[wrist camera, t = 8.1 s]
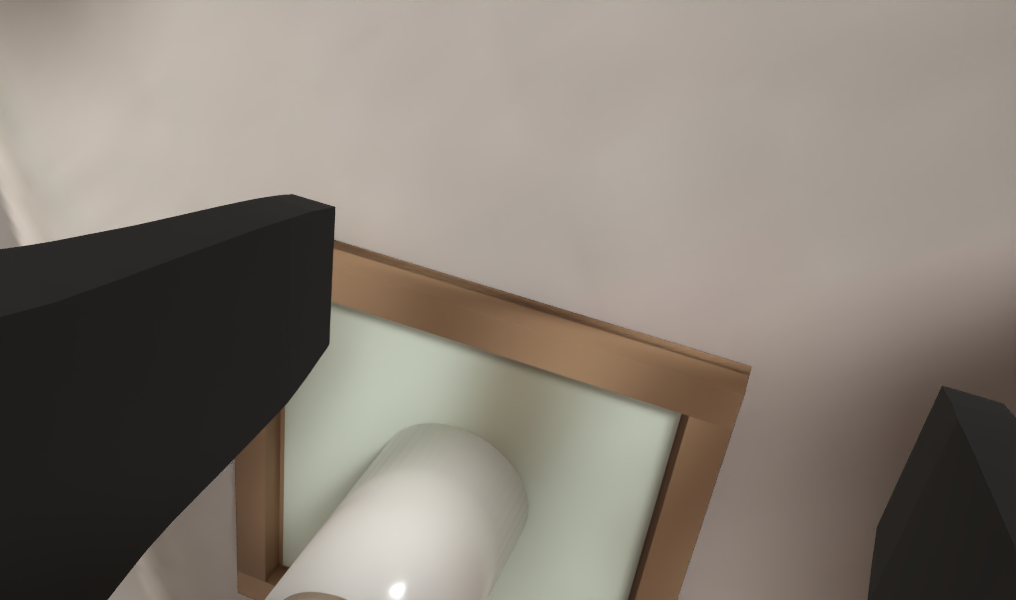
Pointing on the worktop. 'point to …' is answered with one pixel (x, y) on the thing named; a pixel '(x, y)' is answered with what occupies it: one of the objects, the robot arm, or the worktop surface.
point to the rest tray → (499, 429)
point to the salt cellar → (417, 524)
